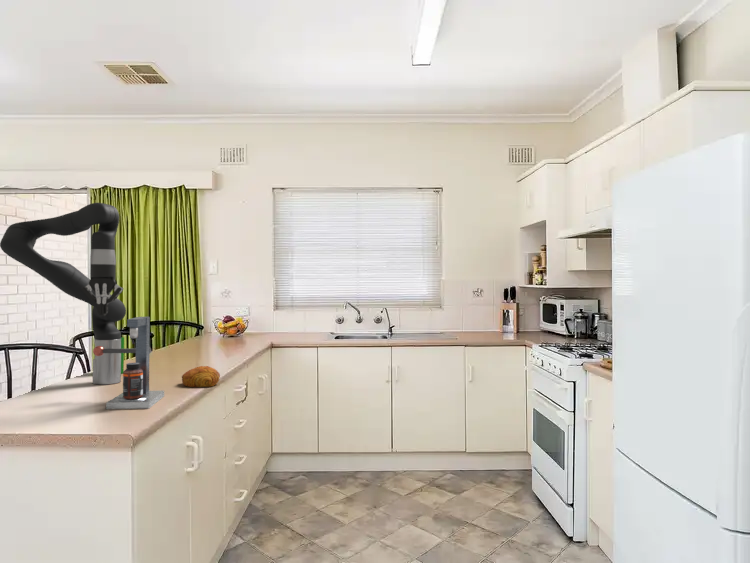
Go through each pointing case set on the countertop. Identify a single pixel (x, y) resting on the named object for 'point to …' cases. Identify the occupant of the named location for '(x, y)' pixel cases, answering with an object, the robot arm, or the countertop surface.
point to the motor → (122, 355)
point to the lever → (113, 350)
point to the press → (149, 398)
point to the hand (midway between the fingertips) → (102, 315)
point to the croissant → (201, 377)
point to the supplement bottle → (132, 381)
